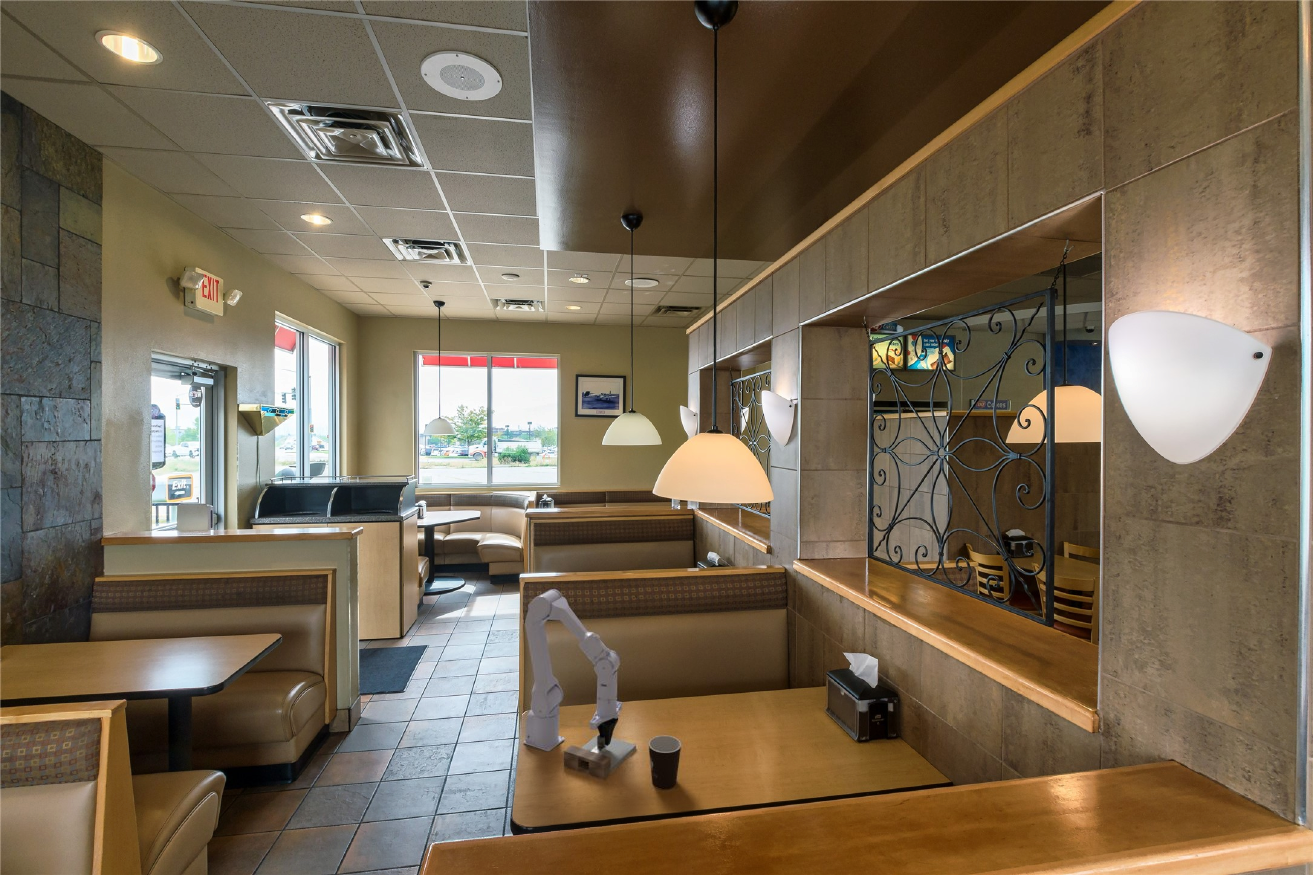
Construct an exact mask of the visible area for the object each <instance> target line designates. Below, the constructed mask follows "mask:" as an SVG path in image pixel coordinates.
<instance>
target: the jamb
mask: <svg viewBox="0 0 1313 875" xmlns="http://www.w3.org/2000/svg"><path fill="white" fill-rule="evenodd" d="M585 761H587V762H585ZM588 762H589V763H588ZM563 767H564V768H568V769H571V770H573V771H576V772H580V773H581V774H585V775H588V776H590V777H593V778H596V779H599V780H602V781H604V780H605V779H606V778H607V777H609V775H611V773H612V772H611V758H610V757H607V756H604V755H601V754H598V753H595V752H592V751H589V750H585V749H582V747H579V746H576V745H573V744H572V745H570V746H569V747H567V748H566V749H564V750H563Z"/></svg>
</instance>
